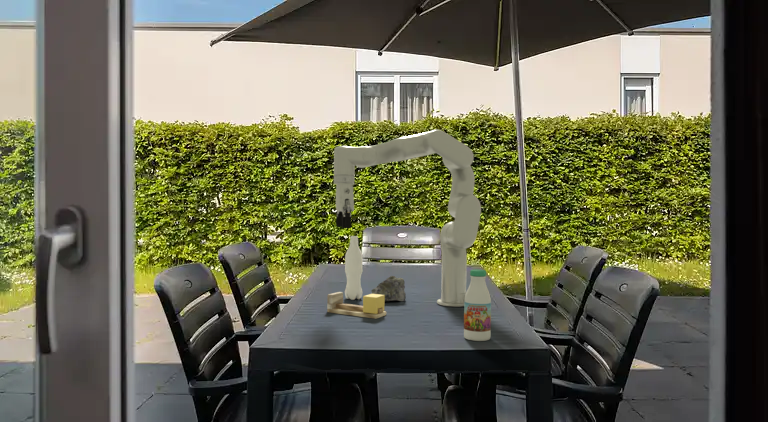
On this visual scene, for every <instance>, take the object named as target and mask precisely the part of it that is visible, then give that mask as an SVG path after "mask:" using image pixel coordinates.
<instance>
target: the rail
mask: <svg viewBox="0 0 768 422" xmlns="http://www.w3.org/2000/svg"><path fill="white" fill-rule="evenodd" d="M326 300H327V304H326V306H327V307H326V308H327V309H326V310H327V311H326V312H327V313H332V314H339V315H345V316H346V315H348V316H354V317H361V318H369V319H376V320H377V319H379V318H382V317H385V316H387V311H386V310H384V311H383V308H379V309H378V313H377V314H373V313H365V312H363V305H360V304H359V305H358V304H351V303H345V302H344V292H343V291H337V292H333V293H328V294H327V298H326Z"/></svg>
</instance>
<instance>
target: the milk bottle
mask: <svg viewBox="0 0 768 422" xmlns="http://www.w3.org/2000/svg"><path fill="white" fill-rule="evenodd" d="M469 277H470V282H469V285H468V287H467V289H466V295H465V303H464V306H463V307H464V308H463V309H464V311H463V338H464V339H466V340H468V341H474V342H486V341H489V340H490V339H491V336H492V335H491V333H492V332H491V331H492V330H491V328H492V299H491V294H490V292H489V289H488V286H487V283H486V278H487V271H486V270H485V269H470V271H469Z"/></svg>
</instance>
